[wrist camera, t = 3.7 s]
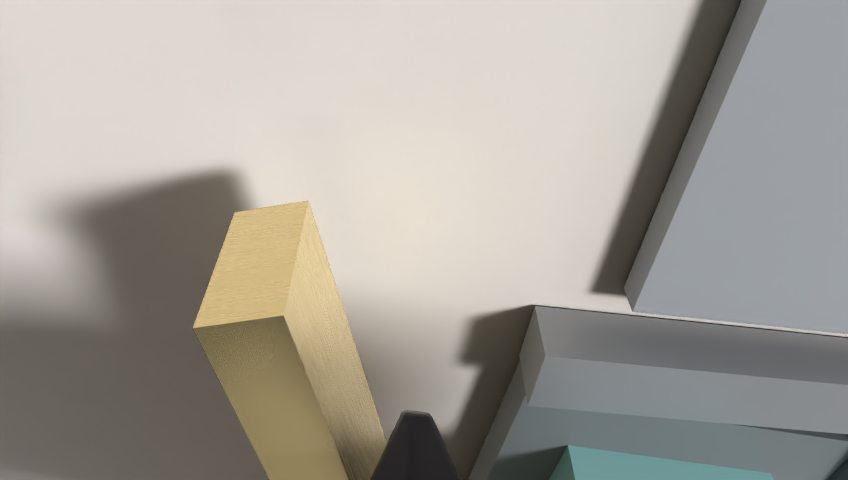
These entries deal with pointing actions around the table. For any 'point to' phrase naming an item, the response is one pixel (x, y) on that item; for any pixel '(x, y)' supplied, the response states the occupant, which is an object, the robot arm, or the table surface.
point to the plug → (644, 447)
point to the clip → (288, 349)
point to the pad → (760, 181)
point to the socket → (686, 371)
